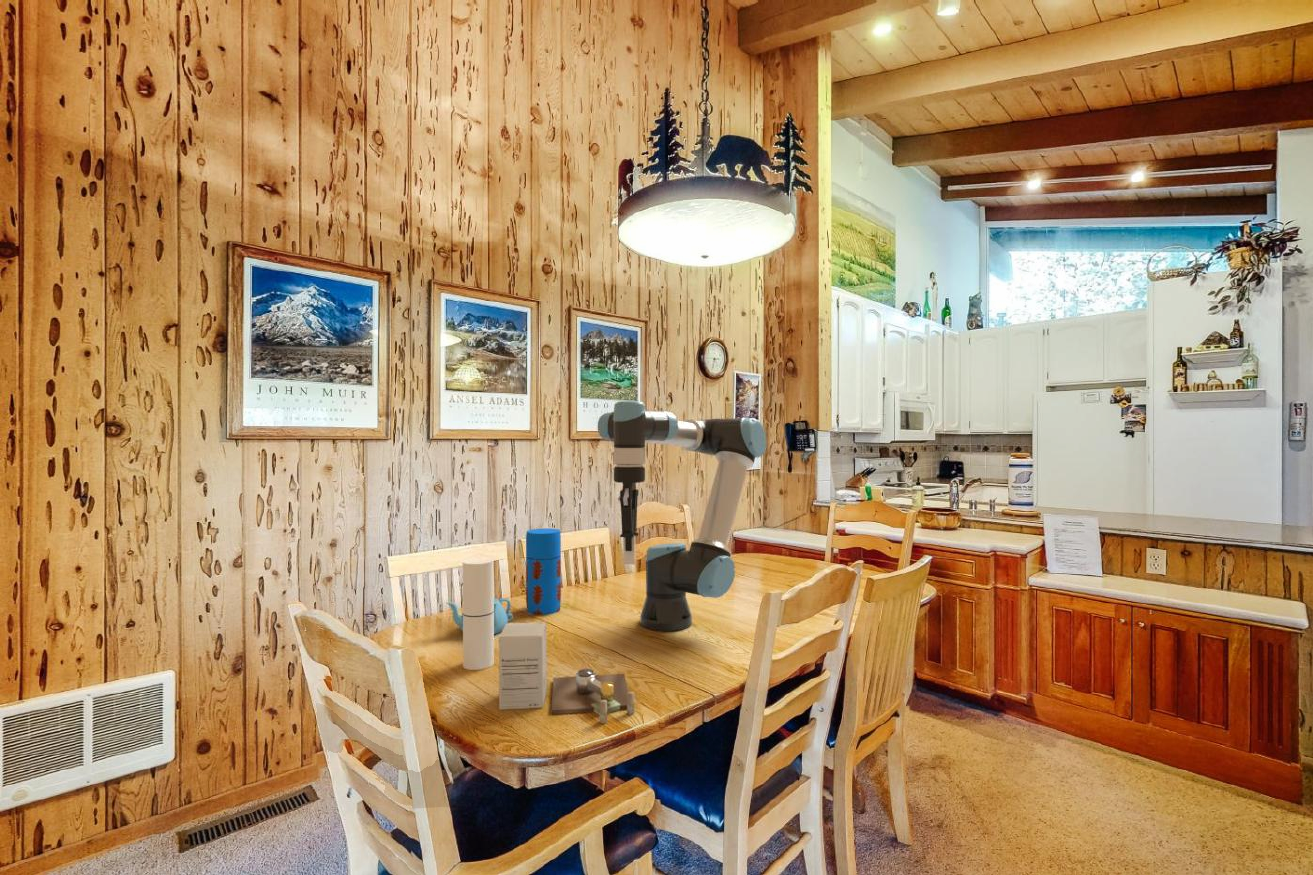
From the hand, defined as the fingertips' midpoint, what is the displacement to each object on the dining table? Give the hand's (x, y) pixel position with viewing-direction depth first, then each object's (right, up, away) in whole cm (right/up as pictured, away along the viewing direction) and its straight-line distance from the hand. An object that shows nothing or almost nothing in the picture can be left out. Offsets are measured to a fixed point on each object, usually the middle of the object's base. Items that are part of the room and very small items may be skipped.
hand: (629, 563), depth 144 cm
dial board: (-7, -25, -19) cm, 32 cm away
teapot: (-43, -25, +25) cm, 56 cm away
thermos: (-29, -24, +45) cm, 59 cm away
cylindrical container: (-37, -25, +1) cm, 44 cm away
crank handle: (-6, -23, -19) cm, 31 cm away
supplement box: (-21, -25, -19) cm, 38 cm away
